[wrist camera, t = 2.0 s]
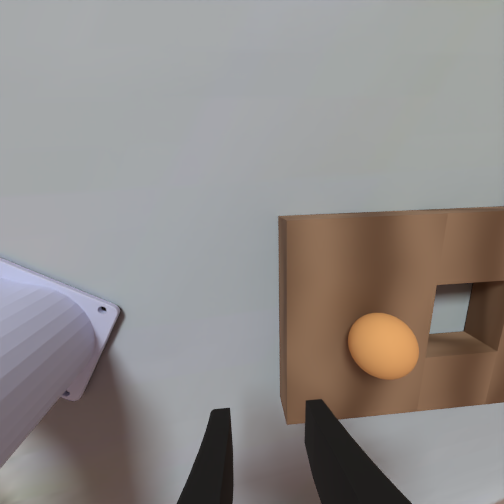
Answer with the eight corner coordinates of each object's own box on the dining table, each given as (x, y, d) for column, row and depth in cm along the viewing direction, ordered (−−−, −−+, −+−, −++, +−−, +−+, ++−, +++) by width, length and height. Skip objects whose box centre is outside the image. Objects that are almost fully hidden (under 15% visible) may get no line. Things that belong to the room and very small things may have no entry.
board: (280, 395, 19) (286, 424, 17) (278, 216, 16) (286, 220, 13) (481, 376, 20) (515, 401, 18) (520, 205, 17) (567, 207, 15)
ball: (327, 339, 15) (354, 381, 12) (357, 293, 15) (395, 323, 11) (371, 359, 16) (408, 404, 13) (402, 315, 15) (450, 350, 12)
